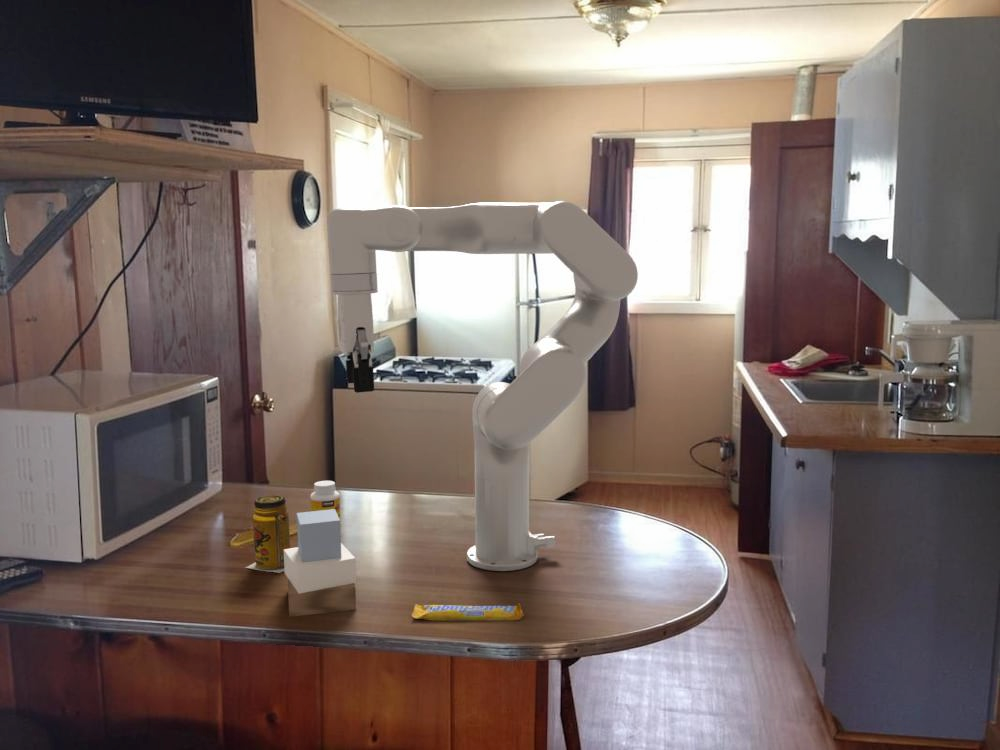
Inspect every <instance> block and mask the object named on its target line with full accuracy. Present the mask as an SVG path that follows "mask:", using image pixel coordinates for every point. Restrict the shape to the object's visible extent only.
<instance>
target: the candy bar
mask: <svg viewBox="0 0 1000 750" xmlns="http://www.w3.org/2000/svg"><path fill="white" fill-rule="evenodd" d="M517 604H518V605H458V604H457V605H455V604H453V605H451V604H425V605H419V604H417V603H415V605H414V608H413V609H412V613H411V616H410V617H412V618H413V619H416V620H417V619H420V620H422V619H423V620H425V621H426V620H427V621H519V620H521V619H522V618H523V617H524V615H525V614H524V612H523V609H522V606H521V604H520V602H519V603H517Z"/></svg>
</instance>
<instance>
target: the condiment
mask: <svg viewBox="0 0 1000 750" xmlns="http://www.w3.org/2000/svg"><path fill="white" fill-rule="evenodd" d="M286 501H287V500H286V498H285V497H284V496H283V495H277V494H275V495H274V494H270V495H263V496H260V497H258V498H255V500H254V514H253V517H252V525H253V541H254V542H253V543H254V544H253V545H254V559H255V561H254V562H253V563H252V564H249V565H248V566H245V567H244V569H250V570H256V571H260V572H266V573H270V572H271V573H272V572H273V573H277V574H280V573H282V572H285V569H284V549H289V548H291V538H290V537H291V536H290V518H289V517H290V516H289V513H288V510H287V505H286V503H287V502H286Z"/></svg>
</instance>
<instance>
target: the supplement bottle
mask: <svg viewBox="0 0 1000 750" xmlns="http://www.w3.org/2000/svg"><path fill="white" fill-rule="evenodd" d="M309 498H310V502H309V503H310V504H309V505H310V512H311V511H320V510H330V509H335V510H336V513H337V515H338V517H339V519H340V520H341V502H340V501H341V499H340V498H341V497H340V492H338V491H337V490H336V483H335V481H333V480H321V481H320V480H319V481H316V482H314V483H313V492H312V493H311V494H310V497H309ZM341 529H342V528H341V527H340V530H341Z"/></svg>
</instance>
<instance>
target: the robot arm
mask: <svg viewBox="0 0 1000 750" xmlns="http://www.w3.org/2000/svg"><path fill="white" fill-rule="evenodd" d="M326 226H327V240H328V241H327V243H328V244H327V245H328V258H329V260H328V261H329V271H330V273H329V274H330V287H331V288H330V290H331V295H334V296H335V295H337V331H338V335H337V336H338V349H339V351H340V352H341V353H342V354H343V355H345V356H346V357H345V358H346V359H345V368H346V381H347V383H348V384H353V390H354V392H355V393H357V394H358V393H368V392H370V393H371V392H374V391H375V381H374V380H375V379H374V366H373V361H372V353H373V352H374V350H375V349H374V347H375V338H374V337H375V336H374V334H375V333H374V319H373V318H374V317H373V316H374V315H373V303H372V294H376V293H378V274H377V257H376V255H377V254H376V253H377V252H376V251H385V252H395V253H403V252H458V253H463V254H464V253H465V254H471V255H505V254H506V255H510V254H511V255H513V254H514V255H516V254H517V255H519V254H521V255H522V254H523V255H524V254H526V255H527V254H528V255H530V254H531V255H533V254H535V255H537V254H539V255H540V254H545V255H546V254H549V255H551V254H553V255H555V256H556V257H557V259H559V260H560V262H561V263H562V264H563V265H564V266H566V268H567V269H569V270H570V271H571V272H572V273H573V275H572V277H573V283H574V288H575V289H574V291H575V293H574V298H573V301H572V304H571V305H570V306H569V308H568V310H567V311H566V312H565V313H564V314H563V315H562V317H561V318H559V320H558V321H557V322H556V323H555V324H554V325H553V326H552V327H551V328H550V329H549V330H548V331H547V332H546V333H545V334H543V335H542V336H541V337H540V338H539V339H538V340H537V341H536V342H535V343H533V344H532V346H530V347H529V348H528V349H527V350H526V351H525V352H524V353H523V355H522V357H521V358H520V363H519V375H517V376H516V377H515V378H514V380H512V382H510V383H509V382H504V381H498V382H491V383H489V384H487V385H485V386H484V387H483V388H482V389H480V391H478V393H477V395H476V396H475V398H474V400H473V404H472V412H471V413H472V414H471V415H472V417H471V419H472V431H473V432H472V434H473V444H474V445H473V448H474V450H473V451H474V526H475V527H474V528H475V529H474V535H475V536H474V537H475V538H474V539H475V540H474V541H475V542H474V545H473V546H471V547H469V549H468V550H467V552H466V560H467V562H468V563H469V564H470V565H472V566H473V567H475V568H478V569H481V570H485V571H486V570H487V571H493V572H507V571H508V572H512V571H518V570H523V569H526V568H528V567H531V566H533V565H534V564H535V563H537V561H538V559H539V558H538V555H539V554H538V550H539V548H554V547H556V537H555V535H549V536H545V534H544V533H536V534H532V533H531V531H530V453H529V452H530V450H529V444H530V443H531V442H532V441H534V440H535V439H536V438H537V437H538V436H539V435H540V434H542V433H543V431H545V430H546V428H548V427H549V426H550V425H551V424H552V423H553V422H554V421H555V420H556V419H557V418H558V417H559V416H560V415H561V414H562V413H563V412H564V411H565V410H566V409H567V408H569V406H571V405H572V404H573V402H575V400H576V399H577V398H578V397H579V395H580V393H581V391H582V390H583V388H584V387H585V383H586V380H587V368H586V363H588V361H589V360H591V358H592V357H593V356H594V354H595V355H596V353H597V351H599V350H600V348H601V347H603V346H604V344H605V343H606V342H607V341H608V339H609V338H610V337H611V335H612V333H613V332H614V330H615V329H616V325H617V322H618V319H619V314H620V306H621V300H622V299H624V298H626V297H628V296H629V295H630V294H631V293H632V292H633V290H634V289H635V287H636V285H637V283H638V277H639V275H638V273H639V272H638V268H637V265H636V262H635V261H634V259H633V257H632V256H631V254H629V253H628V252H627V251H626V249H624V248H623V247H622V246H621V244H619V242H617V241H616V240H615V239H614V238H613V237H612V236H611V235H609V233H608V232H607V231H606V230H604V229H603V228H602V227H601V226H600V225H599V224H598V223H597V222H596V221H595V220H594V219H593V218H592V217H591V216H590V215H589V214H588V213H586V212H585V211H584V209H582V208H581V207H580V206H578V205H577V204H575V203H573V202H570V201H567V200H566V201H565V200H559V201H554V202H475V203H469V204H468V203H467V204H464V205H459V206H458V205H455V206H447V207H445V206H444V207H408V206H406V205H400V204H396V205H389V206H384V207H377V208H364V207H348V208H347V207H346V208H345V207H344V208H343V207H342V208H334V209H332V210H330V211H329V212H328V213H327V216H326Z"/></svg>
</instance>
